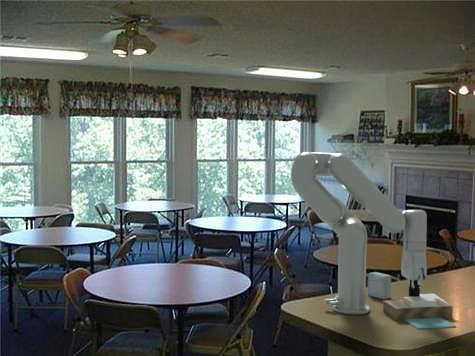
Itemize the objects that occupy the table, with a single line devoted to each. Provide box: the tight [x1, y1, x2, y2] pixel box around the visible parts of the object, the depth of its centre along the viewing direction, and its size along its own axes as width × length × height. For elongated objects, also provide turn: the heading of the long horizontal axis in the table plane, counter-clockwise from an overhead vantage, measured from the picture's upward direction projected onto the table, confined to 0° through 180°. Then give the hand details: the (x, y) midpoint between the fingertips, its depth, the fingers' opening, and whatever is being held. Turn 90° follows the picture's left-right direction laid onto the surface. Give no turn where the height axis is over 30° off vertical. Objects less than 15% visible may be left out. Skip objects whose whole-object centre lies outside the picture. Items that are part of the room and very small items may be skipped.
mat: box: [404, 318, 457, 330], centre depth 182 cm, size 13×9×1 cm
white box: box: [402, 296, 437, 308], centre depth 190 cm, size 9×6×2 cm, turn 98°
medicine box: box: [367, 271, 392, 300], centre depth 216 cm, size 8×4×9 cm, turn 34°
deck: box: [382, 298, 454, 321], centre depth 192 cm, size 20×10×4 cm, turn 99°
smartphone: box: [420, 292, 451, 305], centre depth 209 cm, size 9×2×16 cm
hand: (414, 298), depth 195 cm, fingers closed
